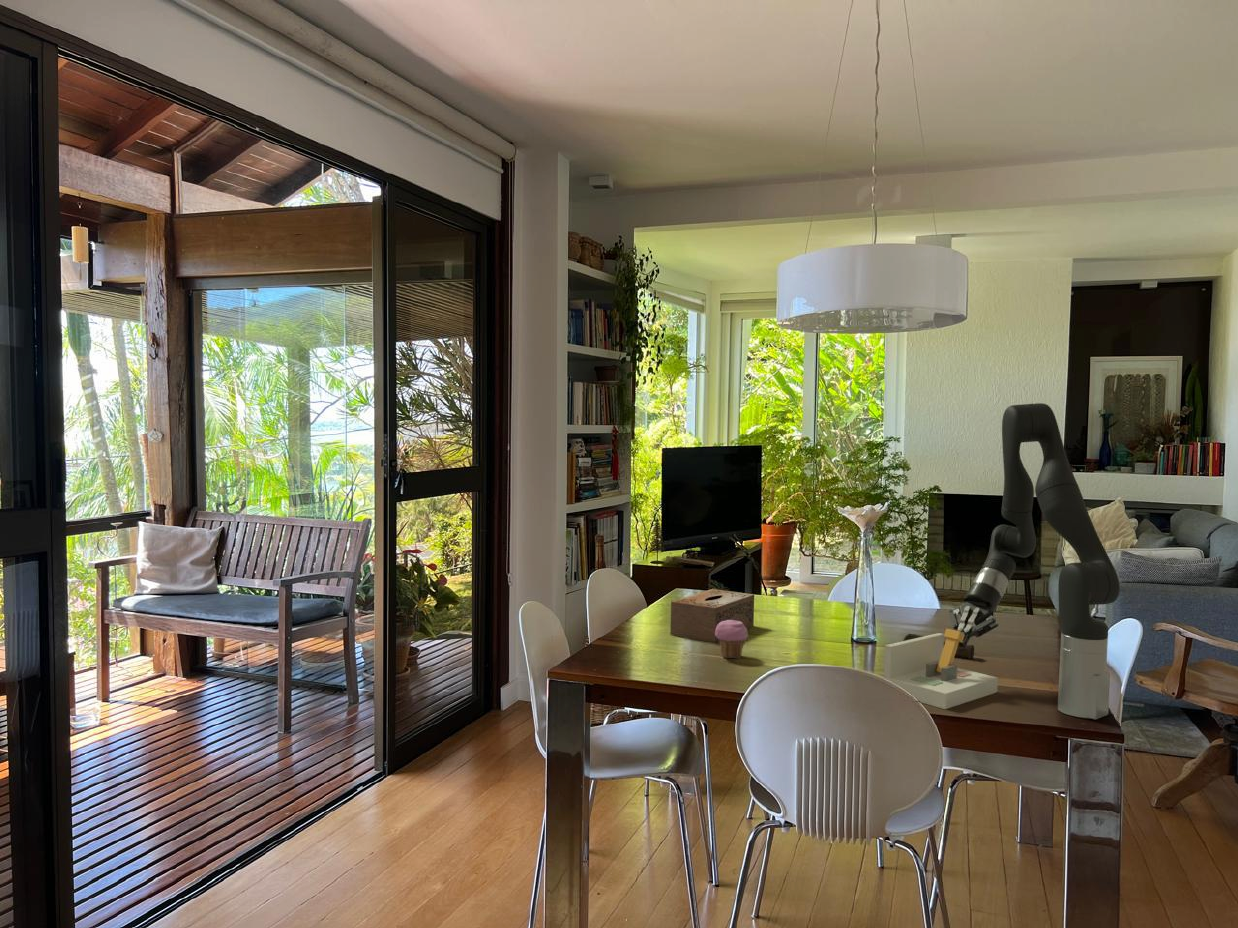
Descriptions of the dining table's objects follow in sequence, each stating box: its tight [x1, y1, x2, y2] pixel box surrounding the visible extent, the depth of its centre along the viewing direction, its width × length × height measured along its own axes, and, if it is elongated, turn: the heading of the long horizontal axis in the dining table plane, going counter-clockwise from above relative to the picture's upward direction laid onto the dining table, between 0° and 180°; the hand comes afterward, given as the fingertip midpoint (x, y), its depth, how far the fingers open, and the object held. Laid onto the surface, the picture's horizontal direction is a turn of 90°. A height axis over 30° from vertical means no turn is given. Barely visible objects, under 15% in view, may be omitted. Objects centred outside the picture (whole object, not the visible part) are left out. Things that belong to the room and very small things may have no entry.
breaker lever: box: [936, 628, 965, 673], centre depth 219 cm, size 2×4×10 cm, turn 39°
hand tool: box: [902, 633, 975, 661], centre depth 254 cm, size 19×4×5 cm, turn 55°
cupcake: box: [715, 620, 749, 659], centre depth 246 cm, size 9×9×10 cm
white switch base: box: [883, 632, 999, 710], centre depth 218 cm, size 22×16×11 cm
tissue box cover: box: [669, 588, 755, 643], centre depth 277 cm, size 26×14×10 cm, turn 147°
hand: (957, 646), depth 221 cm, fingers closed
